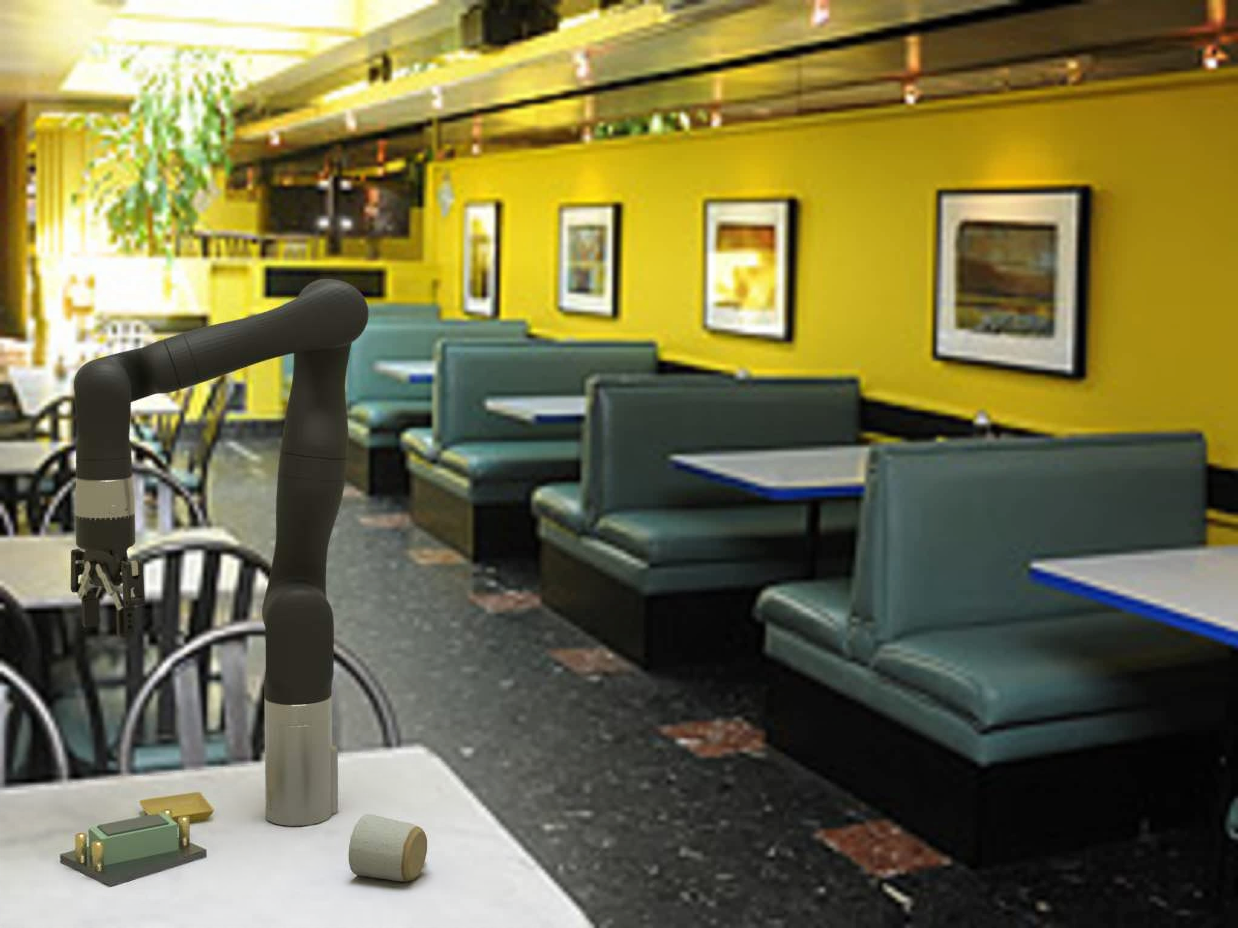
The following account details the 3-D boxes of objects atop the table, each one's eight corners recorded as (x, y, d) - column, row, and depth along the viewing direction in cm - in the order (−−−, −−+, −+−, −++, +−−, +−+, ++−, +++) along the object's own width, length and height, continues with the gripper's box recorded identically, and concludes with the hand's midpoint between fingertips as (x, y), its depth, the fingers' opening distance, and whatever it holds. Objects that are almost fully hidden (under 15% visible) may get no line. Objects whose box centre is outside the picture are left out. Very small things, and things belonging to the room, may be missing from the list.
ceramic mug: (406, 891, 200) (407, 831, 200) (346, 882, 203) (347, 823, 202) (440, 863, 210) (441, 806, 210) (383, 855, 213) (383, 798, 212)
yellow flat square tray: (215, 824, 224) (214, 809, 224) (151, 833, 220) (151, 818, 220) (200, 805, 232) (199, 791, 231) (138, 814, 228) (138, 799, 227)
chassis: (155, 833, 219) (154, 801, 218) (206, 856, 211) (206, 823, 210) (60, 861, 208) (59, 827, 208) (110, 886, 200) (109, 851, 200)
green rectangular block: (164, 838, 214) (163, 810, 214) (178, 849, 210) (177, 821, 210) (89, 853, 208) (88, 825, 208) (101, 865, 204) (101, 836, 204)
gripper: (160, 514, 211) (162, 635, 213) (101, 502, 220) (104, 618, 222) (108, 520, 205) (111, 645, 207) (50, 508, 215) (54, 627, 217)
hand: (107, 631), depth 215 cm, fingers open, 8 cm apart
